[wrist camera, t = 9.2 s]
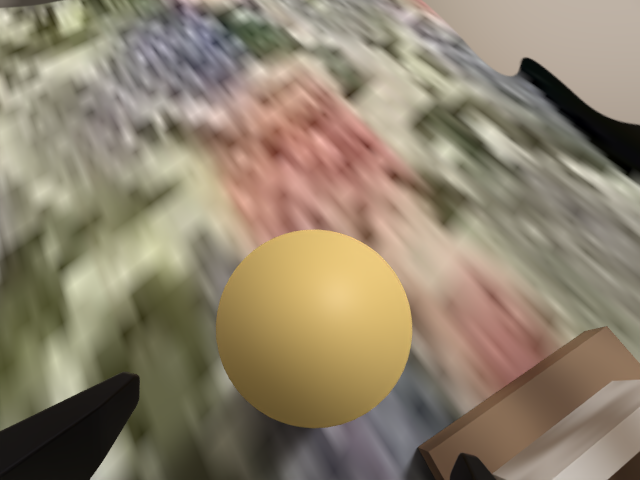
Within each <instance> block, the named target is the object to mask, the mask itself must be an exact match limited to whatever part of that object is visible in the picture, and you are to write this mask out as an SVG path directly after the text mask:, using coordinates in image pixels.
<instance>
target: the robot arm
mask: <svg viewBox="0 0 640 480" xmlns="http://www.w3.org/2000/svg"><path fill="white" fill-rule="evenodd" d="M139 389H140V378H139V376H138V375H137V374H134V373H130V372H122V373H120V374H118V375H115V376H113V377H111V378H109V379H107V380H105V381H103V382H101V383H99V384H97V385H95V386H93V387H91V388H89V389H87V390H85V391H82V392H80V393H78V394H76V395H74V396H72V397H70V398H68V399H66V400H64V401H62V402H60V403H58V404H56V405H54V406H52V407H49V408H47V409H45V410H43V411H41V412H39V413H37V414H35V415H33V416H31V417H29V418H27V419H25V420H23V421H21V422H19V423H16V424H14V425H12V426H10V427H8V428H6V429H4V430H2V431H0V480H90V478H91V477H92V476H93V474H94V473H95V471H96V470H97V469H98V467H99V466H100V464H101V463H102V461H103V460H104V458H105V457H106V455H107V453H108V452H109V450H110V449H111V447H112V445H113V444H114V442H115V440H116V439H117V437H118V435H119V434H120V432H121V431H122V429H123V427H124V426H125V424H126V422H127V421H128V419H129V417H130V416H131V414H132V412H133V411H134V409H135V408H136V406H137V404H138V401H139ZM450 480H496V478H495V477H494V476H493V475H492V474H491V472H490V471H489V470H488V469H487V467H486V466H485V465H484V464H483V463H482V461H481V460H480V459H479V458H478V457H477V456H475V455H472V454H467V453H460V454H459V455H458V457H457V460H456V462H455V464H454V466H453V469H452V471H451V474H450Z"/></svg>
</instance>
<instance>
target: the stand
mask: <svg viewBox="0 0 640 480" xmlns="http://www.w3.org/2000/svg"><path fill="white" fill-rule="evenodd" d="M418 449H419V450H420V452H421V454H422V456H423V458H424V459H425V461H426V463H427V465H428V467H429V468H430V470H431V472H432V474H433V476H434V477H435V479H436V480H450V474H451V471H452V469H453V466H454V464H455V462H456V460H457V457H458V455H459V454H460V453H467V454H472V455H475V456H477V457H478V458H479V459H480V460H481V461H482V463H483V464H484V465H485V466H486V467H487V469H488V470H489V471H490V472H491V474H492V475H493V476H494V477H495V478H496V480H640V363H639V362H638V361H637V360H636V359H635V358H634V357H633V355H632V354H631V353H630V352H629V351H628V350H627V349H626V347H625V346H624V345H623V344H622V343H621V342H620V341H619V339H618V338H617V337H616V336H615V335H614V334H613V333H612V331H611V330H610V329H609V328H608V327H607V326H606V327H601V328H597V329H593V330H588V331H585V332H583V333H582V334H580V335H579V336H577V337H576V338H574V339H573V340H572V341H570V342H569V343H567V344H566V345H564V346H563V347H561V348H560V349H559V350H557V351H556V352H554V353H553V354H551V355H550V356H548V357H547V358H546V359H544V360H543V361H541V362H540V363H538V364H537V365H536V366H534V367H533V368H531V369H530V370H528V371H527V372H525V373H524V374H523V375H521V376H520V377H518V378H517V379H515V380H514V381H512V382H511V383H510V384H508V385H507V386H505V387H504V388H502V389H501V390H499V391H498V392H497V393H495V394H494V395H492V396H491V397H489V398H488V399H487V400H485V401H484V402H482V403H481V404H479V405H478V406H476V407H475V408H474V409H472V410H471V411H469V412H468V413H466V414H465V415H463V416H462V417H461V418H459V419H458V420H456V421H455V422H453V423H452V424H450V425H449V426H448V427H446V428H445V429H443V430H442V431H440V432H439V433H437V434H436V435H435V436H433V437H432V438H430V439H429V440H427V441H426V442H425V443H423V444H422V445H420V446H419V447H418Z"/></svg>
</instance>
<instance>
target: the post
mask: <svg viewBox="0 0 640 480" xmlns="http://www.w3.org/2000/svg"><path fill="white" fill-rule="evenodd" d="M216 339H217V345H218V350H219V354H220V358H221V361H222V364H223V366H224V369H225V371H226V373H227V375H228V377H229V379H230V380H231V382H232V383H233V385H234V386H235V388H236V389H237V391H238V392H239V393H240V394H241V395H242V396H243V397H244V398H245V400H246V401H248V402H249V403H250V404H251V405H252V406H254V407H255V408H256V409H257V410H259V411H260V412H262V413H264V414H265V415H267V416H268V417H270V418H273V419H275V420H277V421H280V422H282V423H285V424H289V425H293V426H297V427H305V428H325V427H331V426H336V425H341V424H344V423H346V422H349V421H352V420H355V419H356V418H358V417H360V416H362V415H364V414H366V413H367V412H369V411H370V410H371V409H373V408H374V407H375V406H377V405H378V404H379V403H380V402H381V401H382V400H383V399H384V398H385V397H386V396H387V395H388V394H389V393H390V391H391V390H392V389H393V387H394V386H395V384H396V383H397V381H398V379H399V378H400V376H401V374H402V372H403V370H404V367H405V365H406V362H407V359H408V356H409V351H410V347H411V339H412V318H411V312H410V306H409V303H408V300H407V296H406V294H405V291H404V289H403V287H402V284H401V282H400V281H399V279H398V277H397V276H396V274H395V273H394V271H393V270H392V269H391V267H390V266H389V265H388V263H387V262H386V261H385V260H384V259H383V258H382V257H381V256H380V255H379V254H377V253H376V252H375V251H374V250H372V249H371V248H370V247H368V246H367V245H365V244H363V243H362V242H360V241H358V240H356V239H354V238H352V237H349V236H346V235H344V234H341V233H336V232H332V231H325V230H302V231H295V232H291V233H287V234H284V235H281V236H278V237H276V238H273V239H271V240H270V241H268V242H266V243H264V244H262V245H261V246H259V247H258V248H256V249H255V250H254V251H253V252H251V253H250V254H249V255H248V256H247V257H246V258H245V259H244V260H243V261H242V262H241V263H240V264H239V265H238V267H237V268H236V269H235V271H234V272H233V274H232V275H231V277H230V279H229V280H228V282H227V284H226V286H225V288H224V291H223V294H222V296H221V299H220V303H219V307H218V311H217V321H216Z"/></svg>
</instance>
